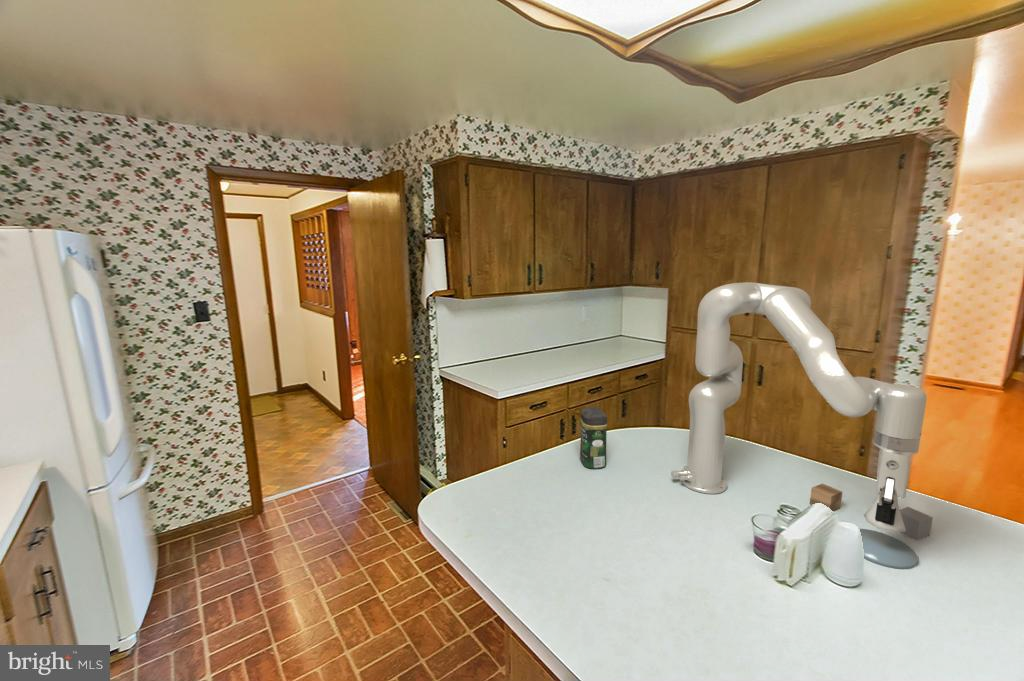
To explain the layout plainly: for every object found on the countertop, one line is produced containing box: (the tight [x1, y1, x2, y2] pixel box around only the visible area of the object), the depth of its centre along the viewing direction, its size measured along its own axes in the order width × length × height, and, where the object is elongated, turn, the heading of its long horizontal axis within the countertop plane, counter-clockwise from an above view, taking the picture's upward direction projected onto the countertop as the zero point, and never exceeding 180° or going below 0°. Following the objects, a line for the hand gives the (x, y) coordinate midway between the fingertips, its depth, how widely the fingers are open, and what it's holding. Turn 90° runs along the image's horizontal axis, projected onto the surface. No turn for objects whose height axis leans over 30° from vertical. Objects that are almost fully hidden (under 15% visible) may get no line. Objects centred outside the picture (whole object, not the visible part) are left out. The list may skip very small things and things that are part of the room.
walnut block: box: [809, 482, 843, 512], centre depth 119 cm, size 5×5×5 cm
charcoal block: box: [899, 506, 934, 542], centre depth 107 cm, size 5×5×5 cm
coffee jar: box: [579, 406, 608, 470], centre depth 144 cm, size 10×8×19 cm
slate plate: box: [859, 528, 919, 570], centre depth 101 cm, size 13×13×1 cm
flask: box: [863, 480, 906, 533], centre depth 99 cm, size 7×7×10 cm
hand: (884, 515), depth 100 cm, fingers closed on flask, 5 cm apart
